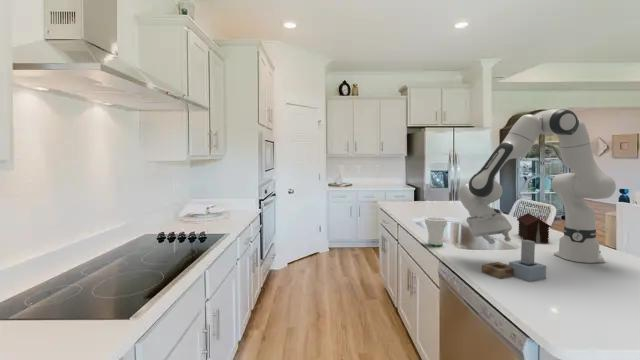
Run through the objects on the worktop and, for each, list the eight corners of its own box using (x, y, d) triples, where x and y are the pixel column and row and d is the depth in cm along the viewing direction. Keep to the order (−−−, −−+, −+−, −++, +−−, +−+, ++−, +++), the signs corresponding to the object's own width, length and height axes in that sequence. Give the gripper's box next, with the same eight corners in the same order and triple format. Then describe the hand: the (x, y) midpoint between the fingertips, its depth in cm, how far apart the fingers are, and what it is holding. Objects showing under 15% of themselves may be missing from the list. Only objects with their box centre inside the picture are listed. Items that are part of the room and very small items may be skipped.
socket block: (481, 271, 146) (481, 264, 146) (497, 268, 149) (497, 261, 149) (500, 278, 137) (500, 271, 137) (517, 275, 141) (517, 268, 141)
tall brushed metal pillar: (520, 275, 141) (521, 240, 140) (526, 274, 142) (527, 239, 141) (528, 278, 138) (529, 242, 137) (533, 276, 139) (534, 241, 138)
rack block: (508, 274, 142) (509, 262, 142) (524, 271, 146) (524, 259, 146) (529, 281, 134) (530, 268, 134) (545, 278, 138) (546, 265, 137)
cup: (420, 243, 193) (420, 217, 192) (437, 241, 197) (437, 216, 196) (433, 248, 182) (433, 221, 181) (451, 246, 186) (451, 219, 185)
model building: (550, 244, 190) (551, 216, 189) (526, 242, 193) (527, 215, 192) (538, 235, 210) (539, 210, 209) (516, 234, 213) (517, 209, 212)
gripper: (468, 213, 153) (487, 240, 145) (503, 209, 161) (522, 235, 153) (460, 221, 157) (478, 248, 149) (494, 218, 165) (512, 243, 157)
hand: (500, 242), depth 151 cm, fingers open, 8 cm apart
